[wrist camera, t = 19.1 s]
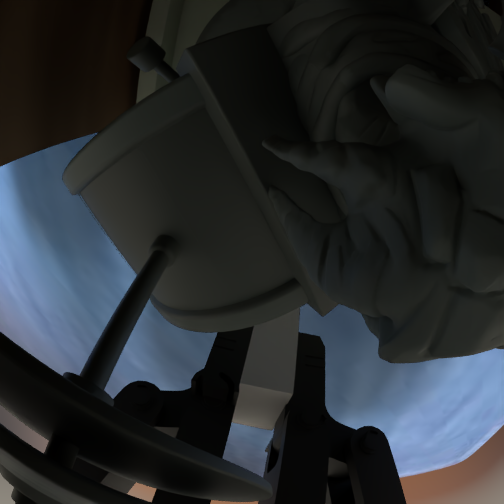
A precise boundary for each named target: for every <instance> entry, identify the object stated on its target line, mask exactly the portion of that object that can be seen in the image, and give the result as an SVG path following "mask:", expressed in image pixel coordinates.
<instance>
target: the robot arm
mask: <svg viewBox="0 0 504 504" xmlns="http://www.w3.org/2000/svg"><path fill="white" fill-rule="evenodd" d="M299 315H300V307H299V308H297V309H295V310H293V311H291V312H289V313H287V314H285V315H282V316H280V317H278V318H275V319H273V320H270V321H267V322H264V323H261V324H258V325H255V326H251V327H247V328H243V329H238V330H233V331H226V332H218V333H217V335H216V338H215V341H214V344H213V347H212V349H211V352H210V354H209V357H208V360H207V362H206V365H205V368H204V369H202V370H200V371H199V372H197V373H196V374H195V375H194V377H193V378H192V380H191V388H189V389H186V390H183V391H160V389H159V388H158V387H156V386H155V385H154V384H152V383H149V382H147V381H136V382H132V383H130V384H128V385H127V386H125V387H124V388H123V389H122V390H121V391H120V392H119V393H118V395H117V396H116V397H115V398H114V399H113V401H114V405H113V407H115V408H117V409H118V410H120V411H122V412H124V413H126V414H128V415H130V416H132V417H133V418H135V419H137V420H139V421H141V422H143V423H145V424H147V425H149V426H151V427H153V428H155V429H157V430H159V431H162V432H164V433H166V434H168V435H170V436H172V437H174V438H176V439H179V440H181V441H183V442H185V443H187V444H190V445H192V446H194V447H196V448H199V449H201V450H203V451H206V452H208V453H210V454H212V455H215V456H217V457H219V458H223V454H224V450H225V446H226V442H227V438H228V435H229V431H230V427H231V423H232V422H233V423H237V424H242V425H247V426H251V427H256V428H261V429H267V430H273V428H274V427H275V428H274V434H273V438H272V440H271V441H270V443H269V444H268V446H267V448H266V450H265V452H268V455H267V460H266V466H265V471H264V476H263V478H264V479H265V480H266V481H268V482H269V483H270V484H271V486H272V491H273V495H272V497H270V498H269V499H266V500H262V501H259V502H258V504H325V503H326V504H406V501H405V497H404V493H403V489H402V486H401V482H400V479H399V475H398V472H397V469H396V465H395V462H394V459H393V455H392V452H391V449H390V446H389V443H388V440H387V438H386V436H385V434H384V433H383V432H382V431H381V430H380V429H378V428H375V427H373V426H364V427H361V428H359V429H357V430H355V429H353V428H350V427H348V426H345V425H343V424H341V423H339V422H337V421H335V420H334V419H333V418H332V417H331V416H330V415H329V413H328V412H327V409H326V406H325V346H324V344H323V342H322V340H321V338H320V336H315V335H310V334H305V333H300V332H298V330H299ZM72 470H74V471H76V472H78V473H80V474H82V475H84V476H86V477H88V478H90V479H92V480H94V481H96V482H99V483H101V484H103V485H105V486H108V487H110V488H113V489H115V490H118V491H120V492H123V493H125V494H127V493H128V492H129V490H130V489H131V488H132V486H133V485H134V484H135V483H136V482H134V481H131V480H129V479H126V478H123V477H121V476H118V475H116V474H113V473H111V472H108V471H106V470H104V469H101V468H99V467H97V466H95V465H93V464H91V463H88V462H86V461H84V460H82V459H80V458H79V457H76V460H75V462H74V465H73V468H72ZM210 502H211V500H209V499H202V498H196V497H190V496H185V495H181V494H176V493H172V492H168V491H164V490H160V489H156V492H155V495H154V497H153V500H152V503H154V504H210ZM15 504H17V503H15Z"/></svg>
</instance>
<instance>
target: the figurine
mask: <svg viewBox="0 0 504 504" xmlns="http://www.w3.org/2000/svg"><path fill="white" fill-rule="evenodd" d="M501 2H502V8H503V15H501V22H502V24H501V28H500V31H499V33H498V35H497V32H496V30H495V28H494V26H493V23H492V21H491V19H490V17H489V15H488V14H486V13H480V11H479V9H478V8H481V9H485V7H484V5H483V4H485V3H484V1H483V0H230V1H229V2H227V3H226V4H225V5H224V6H223V7H222V8H221V9H220V10H219V11H218V12H217V13H216V14H215V15H214V16H213V17H212V19H211V20H210V21H209V22H208V24H207V25H206V26H205V28H204V30H203V31H202V33H201V34H200V36H199V38H198V40H197V42H196V44H195V45H193V46H191V47H188V48H186V49H184V51H183V54H182V56H181V58H180V60H179V62H178V64H177V67H176V70H177V72H178V73H177V72H176V71H175V70H174V69H173V68H172V67H170V66H169V65H168V64H167V63H166V62H165V61H164V60H163V59H164V58H165V55H166V52H165V50H164V49H163V48H162V47H160V46H159V45H158V44H157V43H156V42H155V41H154V40H153V39H152V38H151V37H149V36H146V37H143V38H141V39H140V40H138V41H137V42H136V43H135V44H134V45H133V46H132V47H131V48H130V49H129V51H128V53H127V59H128V60H130V61H131V62H132V63H133V64H135V65H136V66H137V67H138V68H140V69H141V70H142V71H144V72H149V71H151V70H155V71H156V72H157V73H158V74H159V75H161V76H162V77H163V78H164V79H165V80H166V81H167V82H169V83H168V84H167V85H165V86H163V87H161V88H160V89H158V90H156V91H155V92H153V93H152V94H150V95H148V96H147V97H145V98H144V99H142V100H141V101H139V102H138V103H136V104H135V105H133V106H132V107H131V108H129V109H128V110H126V111H125V112H124V113H122V114H121V115H120V116H118V117H117V118H116V119H115V120H113V121H112V122H111V123H109V124H108V125H107V126H106V127H105V128H103V129H102V130H101V131H100V132H99V133H98V134H97V135H95V136H94V137H93V138H92V139H91V140H90V141H89V142H88V143H87V144H86V145H85V146H84V147H83V148H82V149H81V150H80V151H79V152H78V153H77V154H76V156H75V157H74V158H73V159H72V160H71V162H70V163H69V164H68V166H67V167H66V169H65V171H64V173H63V176H62V180H63V182H64V183H65V185H66V187H67V188H68V190H69V191H70V193H71V194H72V195H79V194H80V195H81V196H82V198H83V199H84V201H85V203H86V204H87V206H88V207H89V209H90V210H91V212H92V213H93V215H94V216H95V218H96V219H97V220H98V222H99V223H100V225H101V226H102V228H103V229H104V231H105V232H106V233H107V235H108V236H109V238H110V239H111V240H112V242H113V243H114V245H115V246H116V247H117V249H118V250H119V251H120V253H121V254H122V255H123V257H124V258H125V259H126V261H127V262H128V263H129V265H130V266H131V267H132V269H133V270H134V271H135V273H136V274H137V277H136V278H135V280H134V281H133V283H132V284H131V286H130V288H129V289H128V291H127V292H126V294H125V296H124V297H123V299H122V301H121V302H120V304H119V306H118V307H117V309H116V311H115V312H114V314H113V316H112V317H111V319H110V321H109V322H108V324H107V326H106V328H105V329H104V331H103V333H102V335H101V336H100V338H99V340H98V342H97V344H96V345H95V347H94V349H93V351H92V353H91V355H90V356H89V358H88V360H87V362H86V364H85V366H84V368H83V370H82V372H81V373H80V375H77V374H74V373H70V372H66V373H64V374H63V376H62V375H60V374H58V373H57V372H55V371H54V370H52V369H51V368H49V367H48V366H46V365H45V364H43V363H42V362H41V361H39V360H38V359H36V358H35V357H34V356H32V355H31V354H29V353H28V352H27V351H25V350H24V349H22V348H21V347H20V346H18V345H17V344H16V343H14V342H13V341H12V340H10V339H9V338H8V337H7V336H5V335H4V334H3V333H1V332H0V405H1V406H3V407H4V408H5V409H6V410H7V411H8V412H10V413H11V414H12V415H13V416H15V417H16V418H17V419H19V420H20V421H21V422H23V423H24V424H25V425H27V426H28V427H29V428H31V429H32V430H34V431H35V432H37V433H38V434H40V435H41V436H43V437H44V438H46V439H47V440H49V442H48V445H47V447H46V450H45V452H44V453H42V452H40V451H39V450H37V449H35V448H33V447H32V446H31V445H29V444H28V443H26V442H25V441H23V440H22V439H20V438H19V437H18V436H16V435H15V434H14V433H12V432H11V431H10V430H8V429H7V428H6V427H4V426H3V425H2V424H0V473H1V474H2V476H3V477H4V478H5V479H6V480H7V481H8V482H9V483H10V484H11V485H12V486H14V489H13V492H12V495H11V497H12V499H13V500H14V501H15V502H16V503H17V504H154V503H151V502H148V501H145V500H142V499H139V498H136V497H133V496H130V495H128V494H125V493H123V492H120V491H118V490H115V489H113V488H110V487H108V486H105V485H103V484H101V483H99V482H96V481H94V480H92V479H90V478H88V477H86V476H84V475H82V474H80V473H78V472H76V471H74V470H72V468H73V465H74V462H75V460H76V457H79V458H80V459H82V460H84V461H86V462H88V463H91V464H93V465H95V466H97V467H99V468H101V469H104V470H106V471H108V472H111V473H113V474H116V475H118V476H121V477H123V478H126V479H129V480H131V481H134V482H137V483H140V484H143V485H146V486H150V487H153V488H157V489H160V490H164V491H168V492H172V493H176V494H181V495H185V496H190V497H196V498H202V499H209V500H218V501H231V502H253V501H262V500H266V499H269V498H270V497H272V495H273V491H272V486H271V484H270V483H269V482H268V481H266V480H265V479H264V478H262V477H260V476H259V475H257V474H255V473H253V472H251V471H249V470H247V469H244V468H242V467H240V466H238V465H235V464H233V463H231V462H229V461H226V460H224V459H222V458H219V457H217V456H215V455H212V454H210V453H208V452H206V451H203V450H201V449H199V448H196V447H194V446H192V445H190V444H187V443H185V442H183V441H181V440H179V439H176V438H174V437H172V436H170V435H168V434H166V433H164V432H162V431H159V430H157V429H155V428H153V427H151V426H149V425H147V424H145V423H143V422H141V421H139V420H137V419H135V418H133V417H132V416H130V415H128V414H126V413H124V412H122V411H120V410H118V409H117V408H115V407H113V405H114V401H113V399H112V398H111V396H110V395H108V394H107V393H106V392H105V391H104V389H105V387H106V384H107V382H108V380H109V378H110V376H111V374H112V371H113V369H114V367H115V365H116V363H117V361H118V359H119V357H120V355H121V353H122V350H123V348H124V346H125V344H126V342H127V340H128V338H129V336H130V334H131V332H132V330H133V328H134V326H135V324H136V322H137V320H138V319H139V317H140V315H141V313H142V311H143V309H144V307H145V305H146V303H147V301H148V300H149V298H150V300H151V302H152V304H153V305H154V307H155V308H156V309H157V310H158V311H159V312H160V314H161V315H162V316H163V317H164V318H165V319H166V320H167V321H169V322H170V323H171V324H173V325H175V326H177V327H179V328H182V329H185V330H190V331H195V332H210V333H213V332H226V331H233V330H238V329H243V328H247V327H251V326H255V325H258V324H261V323H264V322H267V321H270V320H273V319H275V318H278V317H280V316H282V315H285V314H287V313H289V312H291V311H293V310H295V309H297V308H299V307H301V306H303V305H305V304H306V303H308V304H309V305H310V306H311V307H312V308H313V309H314V310H315V311H317V312H318V313H319V314H320V315H321V316H322V317H324V316H325V315H326V314H327V313H329V312H330V311H331V310H332V309H334V308H335V307H336V306H337V305H338V304H341V305H345V306H346V307H349V308H352V309H354V310H357V311H358V312H360V313H361V314H362V316H363V318H364V320H365V322H366V324H367V326H368V328H369V330H370V331H371V332H372V333H373V334H374V335H375V336H377V338H378V339H379V348H378V354H379V357H380V358H381V359H383V360H386V361H388V362H390V363H417V362H423V361H429V360H434V359H438V358H452V357H462V356H469V355H474V354H478V353H481V352H485V351H488V350H491V349H494V348H497V349H504V66H503V63H502V60H504V0H501ZM477 7H478V8H477ZM501 59H502V60H501ZM80 195H79V196H80ZM80 198H81V197H80ZM82 201H83V200H82ZM85 203H84V204H85ZM87 206H86V207H87ZM89 209H88V210H89ZM91 212H90V213H91ZM93 215H92V216H93ZM95 218H94V219H95ZM96 222H97V221H96ZM98 225H99V224H98ZM100 225H99V226H100ZM102 228H101V229H102ZM104 231H103V232H104ZM107 235H106V236H107ZM109 238H108V239H109ZM112 242H111V243H112ZM114 245H113V246H114ZM117 249H116V250H117ZM120 253H119V254H120ZM123 257H122V258H123ZM126 261H125V262H126ZM129 265H128V266H129ZM133 270H132V271H133ZM136 274H135V275H136Z"/></svg>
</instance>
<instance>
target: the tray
mask: <svg viewBox="0 0 504 504" xmlns="http://www.w3.org/2000/svg"><path fill="white" fill-rule="evenodd" d="M229 1H230V0H153V2H152V6H151V11H150V15H149V20H148V25H147V30H146V35H145V37H146V36H149V37H151V38H152V39H153V40H154V41H155V42H156V43H157V44H158V45H159V46H160V47H162V48H163V49H164V50H165V52H166V55H165V58H164V59H163V60H164V61H165V62H166V63H167V64H168V65H169V66H170V67H172V68H173V69H174V70H175V71H176V72H177V70H176V67H177V64H178V62H179V60H180V58H181V56H182V54H183V51H184V49H186V48H188V47H191V46H193V45H195V44H196V42H197V40H198V38H199V36H200V34H201V33H202V31H203V30H204V28H205V26H206V25H207V24H208V22H209V21H210V20H211V19H212V17H213V16H214V15H215V14H216V13H217V12H218V11H219V10H220V9H221V8H222V7H223V6H224V5H225V4H226V3H227V2H229ZM483 5H484V4H483ZM484 7H485V9H481V8H478V7H477V8H478V9H479V11H480V13H486V14H488V15H489V17H490V19H491V21H492V23H493V26H494V28H495V30H496V32H497V35H498V33H499V31H500V28H501V24H502V22H501V16H500V15H498V14H497V13H496V12H494V11H493V10H491V9H490V8H488V7H487V6H485V5H484ZM501 60H502V59H501ZM502 63H503V66H504V60H502ZM177 73H178V72H177ZM168 83H169V82H167V81H166V80H165V79H164V78H163V77H162V76H161V75H159V74H158V73H157V72H156V71H155V70H151V71H149V72H144V71H142V70H141V69H140V74H139V81H138V90H137V100H136V103H138V102H139V101H141V100H142V99H144V98H145V97H147V96H148V95H150V94H152V93H153V92H155V91H156V90H158V89H160V88H161V87H163V86H165V85H167V84H168Z"/></svg>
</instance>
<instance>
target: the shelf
mask: <svg viewBox="0 0 504 504" xmlns="http://www.w3.org/2000/svg"><path fill="white" fill-rule="evenodd" d="M152 2H153V0H0V166H3V165H5V164H7V163H10V162H12V161H14V160H17V159H19V158H22V157H24V156H27V155H29V154H32V153H35V152H37V151H40V150H43V149H46V148H48V147H51V146H54V145H57V144H60V143H63V142H66V141H70V140H73V139H76V138H79V137H83V136H86V135H90V134H94V133H97V132H100V131H101V130H102V129H103V128H105V127H106V126H107V125H108V124H109V123H111V122H112V121H113V120H115V119H116V118H117V117H118V116H120V115H121V114H122V113H124V112H125V111H126V110H128V109H129V108H131V107H132V106H133V105H135V104H136V100H137V90H138V81H139V74H140V68H138V67H137V66H136V65H135V64H133V63H132V62H131V61H130V60H128V59H127V53H128V51H129V49H130V48H131V47H132V46H133V45H134V44H135V43H136V42H137V41H138V40H140V39H141V38H143V37H145V35H146V30H147V25H148V20H149V15H150V11H151V6H152ZM489 8H490V9H491V10H493V11H494V12H496V13H497V14H498V15H500V16H501V15H503V8H502V2H501V0H489Z"/></svg>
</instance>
